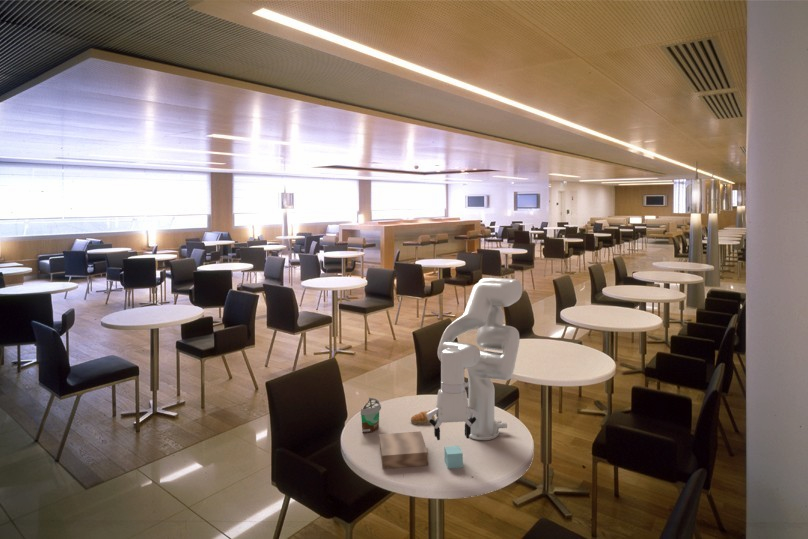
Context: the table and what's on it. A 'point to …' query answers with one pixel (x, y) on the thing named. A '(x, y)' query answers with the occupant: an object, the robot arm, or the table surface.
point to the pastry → (421, 418)
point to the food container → (370, 416)
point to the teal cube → (453, 457)
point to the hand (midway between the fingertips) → (452, 437)
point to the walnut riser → (403, 450)
